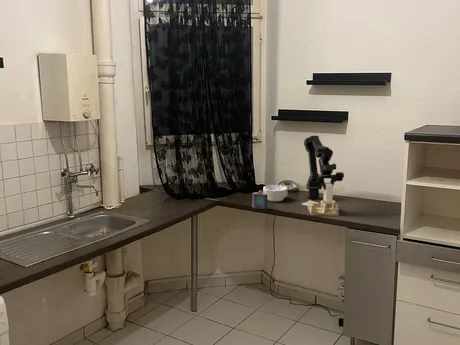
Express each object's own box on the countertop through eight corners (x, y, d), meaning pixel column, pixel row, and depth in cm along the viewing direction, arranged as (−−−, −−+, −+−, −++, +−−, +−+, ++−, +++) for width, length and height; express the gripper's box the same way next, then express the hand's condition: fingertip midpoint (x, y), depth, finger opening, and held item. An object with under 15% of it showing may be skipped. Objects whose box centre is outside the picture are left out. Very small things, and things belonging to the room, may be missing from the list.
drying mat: (301, 204, 285) (301, 203, 285) (311, 201, 291) (311, 200, 291) (316, 208, 276) (316, 207, 276) (326, 205, 282) (326, 204, 282)
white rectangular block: (326, 202, 265) (326, 185, 263) (323, 199, 271) (324, 182, 269) (332, 202, 265) (333, 185, 263) (329, 199, 271) (330, 182, 269)
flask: (251, 208, 278) (251, 190, 275) (253, 206, 280) (253, 189, 278) (266, 209, 274) (266, 191, 272) (268, 208, 276) (268, 190, 274)
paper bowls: (267, 203, 287) (267, 190, 286) (260, 197, 302) (260, 185, 300) (291, 202, 291) (291, 189, 289) (282, 196, 305) (282, 184, 304)
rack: (307, 208, 276) (308, 199, 275) (333, 208, 276) (334, 200, 275) (311, 215, 262) (311, 206, 261) (338, 215, 262) (339, 206, 261)
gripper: (311, 158, 266) (315, 182, 258) (344, 158, 268) (349, 181, 259) (307, 169, 276) (311, 192, 267) (339, 169, 277) (344, 192, 268)
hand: (328, 189), depth 265 cm, fingers closed on white rectangular block, 3 cm apart
